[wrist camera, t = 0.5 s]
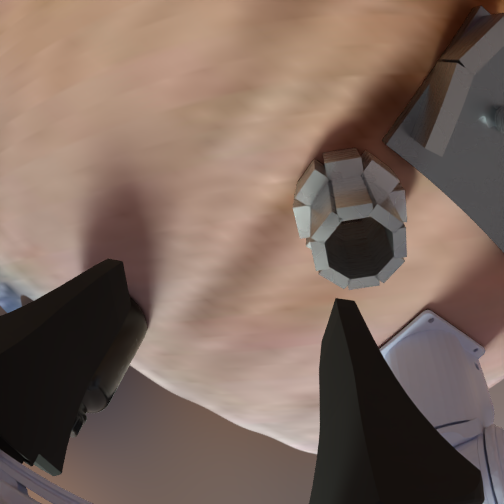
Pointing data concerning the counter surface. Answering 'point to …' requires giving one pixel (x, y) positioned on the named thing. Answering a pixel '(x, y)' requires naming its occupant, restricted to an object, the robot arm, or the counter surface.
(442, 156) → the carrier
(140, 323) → the supplement bottle
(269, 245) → the counter surface
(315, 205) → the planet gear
